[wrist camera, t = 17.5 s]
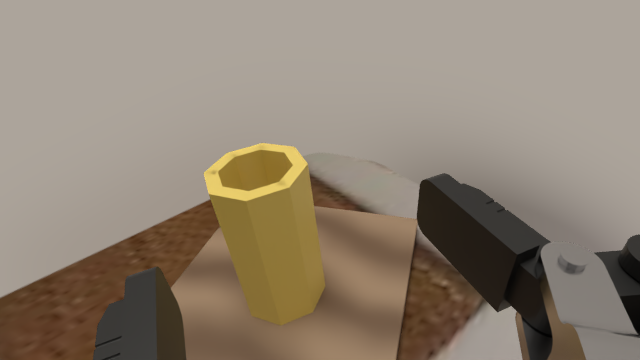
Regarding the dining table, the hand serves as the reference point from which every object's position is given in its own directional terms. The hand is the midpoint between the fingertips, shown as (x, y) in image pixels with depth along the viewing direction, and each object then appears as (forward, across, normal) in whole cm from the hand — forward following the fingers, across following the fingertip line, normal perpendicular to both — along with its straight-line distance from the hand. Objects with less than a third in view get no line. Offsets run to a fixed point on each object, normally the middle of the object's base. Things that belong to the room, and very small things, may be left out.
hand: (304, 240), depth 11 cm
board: (+10, 0, +16) cm, 19 cm away
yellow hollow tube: (+10, 0, +15) cm, 18 cm away
